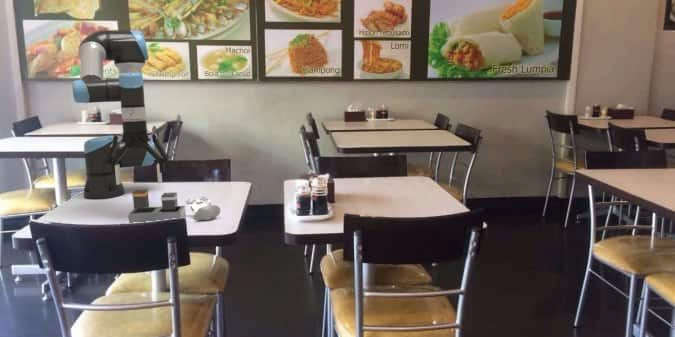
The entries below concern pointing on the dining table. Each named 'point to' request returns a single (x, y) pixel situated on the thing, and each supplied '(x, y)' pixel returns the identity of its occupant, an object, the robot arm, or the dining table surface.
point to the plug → (140, 198)
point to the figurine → (203, 209)
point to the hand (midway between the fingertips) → (139, 183)
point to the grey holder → (159, 210)
